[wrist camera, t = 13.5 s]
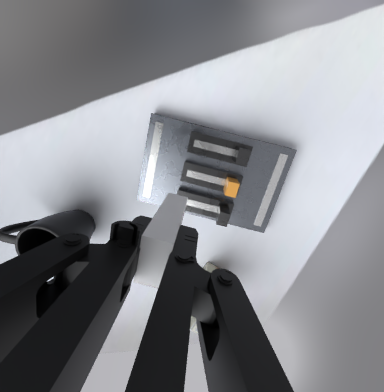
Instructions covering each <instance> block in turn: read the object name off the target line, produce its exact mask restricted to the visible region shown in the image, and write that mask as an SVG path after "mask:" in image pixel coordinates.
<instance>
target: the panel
mask: <svg viewBox="0 0 384 392" xmlns="http://www.w3.org/2000/svg"><path fill="white" fill-rule="evenodd" d="M295 153H296V150H294V149H290V148H286V147H282V146H279V145H275V144H271V143H267V142H263V141H259V140H255V139H251V138H247V137H243V136H239V135H235V134H231V133H227V132H223V131H220V130H216V129H212V128H208V127H204V126H200V125H196V124H192V123H188V122H184V121H180V120H176V119H172V118H168V117H164V116H161V115H157V114H153V113H151V117H150V123H149V129H148V135H147V141H146V147H145V154H144V160H143V166H142V172H141V178H140V184H139V190H138V196H137V200H138V201H142V202H146V203H150V204H153V205H157V206H161V204H162V203H163V201H164V200H165V198H166V196H167V195H168V193H172V194H176V195H180V196H184V197H188V200H187V204H186V208H185V213H188V214H192V215H196V216H200V217H204V218H208V219H212V220H216V224H217V225H221V226H225V227H227V224H231V225H235V226H239V227H243V228H247V229H250V230H254V231H258V232H262V233H264V231H265V229H266V226H267V224H268V221H269V219H270V216H271V214H272V211H273V209H274V206H275V204H276V201H277V198H278V196H279V193H280V191H281V188H282V186H283V183H284V181H285V178H286V176H287V173H288V171H289V168H290V166H291V163H292V161H293V158H294V156H295ZM227 177H230V178H234V179H237V180H238V182H239V184H240V185H239V188H238V191H237V194H236V198H234V197H230V196H226V195H225V194H224V190H223V189H224V186H225V182H226V179H227Z"/></svg>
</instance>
